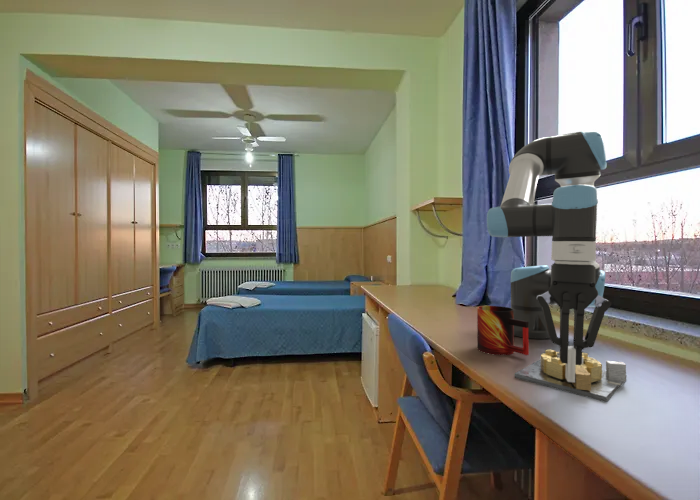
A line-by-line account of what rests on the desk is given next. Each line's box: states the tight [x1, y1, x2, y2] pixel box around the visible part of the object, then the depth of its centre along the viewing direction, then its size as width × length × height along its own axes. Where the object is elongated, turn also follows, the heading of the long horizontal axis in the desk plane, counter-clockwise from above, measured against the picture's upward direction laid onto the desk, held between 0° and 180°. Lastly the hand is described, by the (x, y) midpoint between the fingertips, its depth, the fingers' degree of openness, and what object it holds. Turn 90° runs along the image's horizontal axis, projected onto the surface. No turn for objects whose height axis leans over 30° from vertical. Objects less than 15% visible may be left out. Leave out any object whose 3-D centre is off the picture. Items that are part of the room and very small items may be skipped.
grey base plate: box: [514, 353, 627, 403], centre depth 77 cm, size 17×18×5 cm
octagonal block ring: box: [540, 349, 603, 391], centre depth 75 cm, size 16×11×4 cm
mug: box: [476, 305, 530, 356], centre depth 99 cm, size 10×14×12 cm
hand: (570, 379), depth 70 cm, fingers closed
